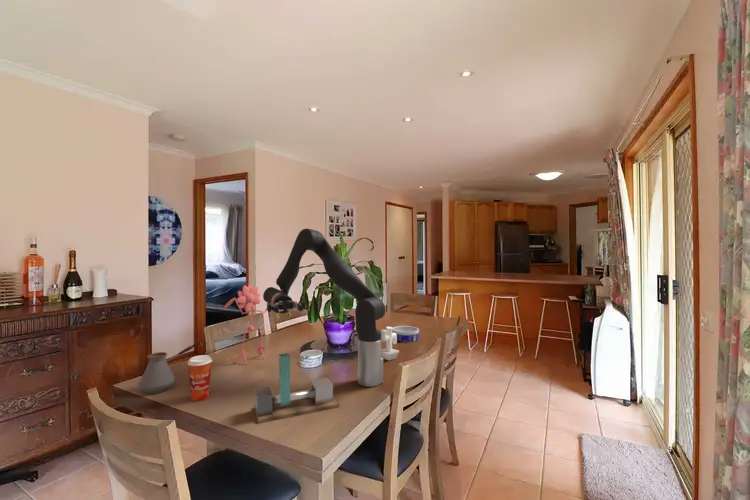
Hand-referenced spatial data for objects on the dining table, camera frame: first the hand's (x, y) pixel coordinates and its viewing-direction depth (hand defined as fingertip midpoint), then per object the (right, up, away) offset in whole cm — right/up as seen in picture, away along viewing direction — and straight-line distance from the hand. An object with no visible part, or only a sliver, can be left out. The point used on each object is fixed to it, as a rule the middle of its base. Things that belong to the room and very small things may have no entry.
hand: (289, 309), depth 129 cm
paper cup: (-30, -30, -7) cm, 43 cm away
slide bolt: (+4, -28, -14) cm, 32 cm away
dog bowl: (+49, -29, +70) cm, 90 cm away
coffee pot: (-46, -30, +4) cm, 55 cm away
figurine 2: (+38, -30, +36) cm, 61 cm away
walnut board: (+5, -30, -13) cm, 34 cm away
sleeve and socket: (+5, -29, -14) cm, 33 cm away
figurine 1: (-28, -29, +35) cm, 54 cm away
